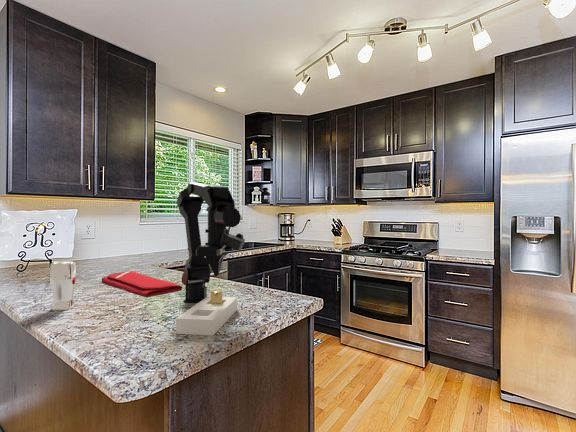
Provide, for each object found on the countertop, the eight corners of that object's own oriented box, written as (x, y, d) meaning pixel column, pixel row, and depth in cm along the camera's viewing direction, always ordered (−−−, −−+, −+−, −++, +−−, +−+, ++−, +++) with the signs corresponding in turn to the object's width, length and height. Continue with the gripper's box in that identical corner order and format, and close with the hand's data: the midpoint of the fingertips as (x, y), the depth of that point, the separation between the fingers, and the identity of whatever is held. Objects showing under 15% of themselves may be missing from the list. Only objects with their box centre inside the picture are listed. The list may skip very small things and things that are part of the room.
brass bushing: (208, 316, 96) (208, 293, 96) (212, 312, 100) (212, 290, 100) (220, 316, 96) (220, 293, 96) (223, 313, 99) (223, 290, 99)
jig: (175, 333, 82) (176, 318, 82) (207, 308, 104) (207, 296, 104) (213, 335, 81) (213, 320, 81) (237, 309, 103) (237, 297, 103)
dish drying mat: (145, 298, 118) (145, 288, 118) (100, 283, 143) (100, 274, 143) (182, 290, 130) (182, 281, 130) (134, 277, 156) (134, 270, 156)
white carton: (80, 306, 106) (80, 261, 106) (59, 312, 99) (59, 264, 99) (65, 304, 108) (66, 260, 108) (44, 310, 101) (44, 263, 101)
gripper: (233, 227, 89) (232, 283, 89) (249, 225, 107) (249, 271, 107) (195, 227, 90) (194, 281, 90) (217, 224, 108) (217, 270, 109)
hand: (216, 275), depth 99 cm, fingers closed
